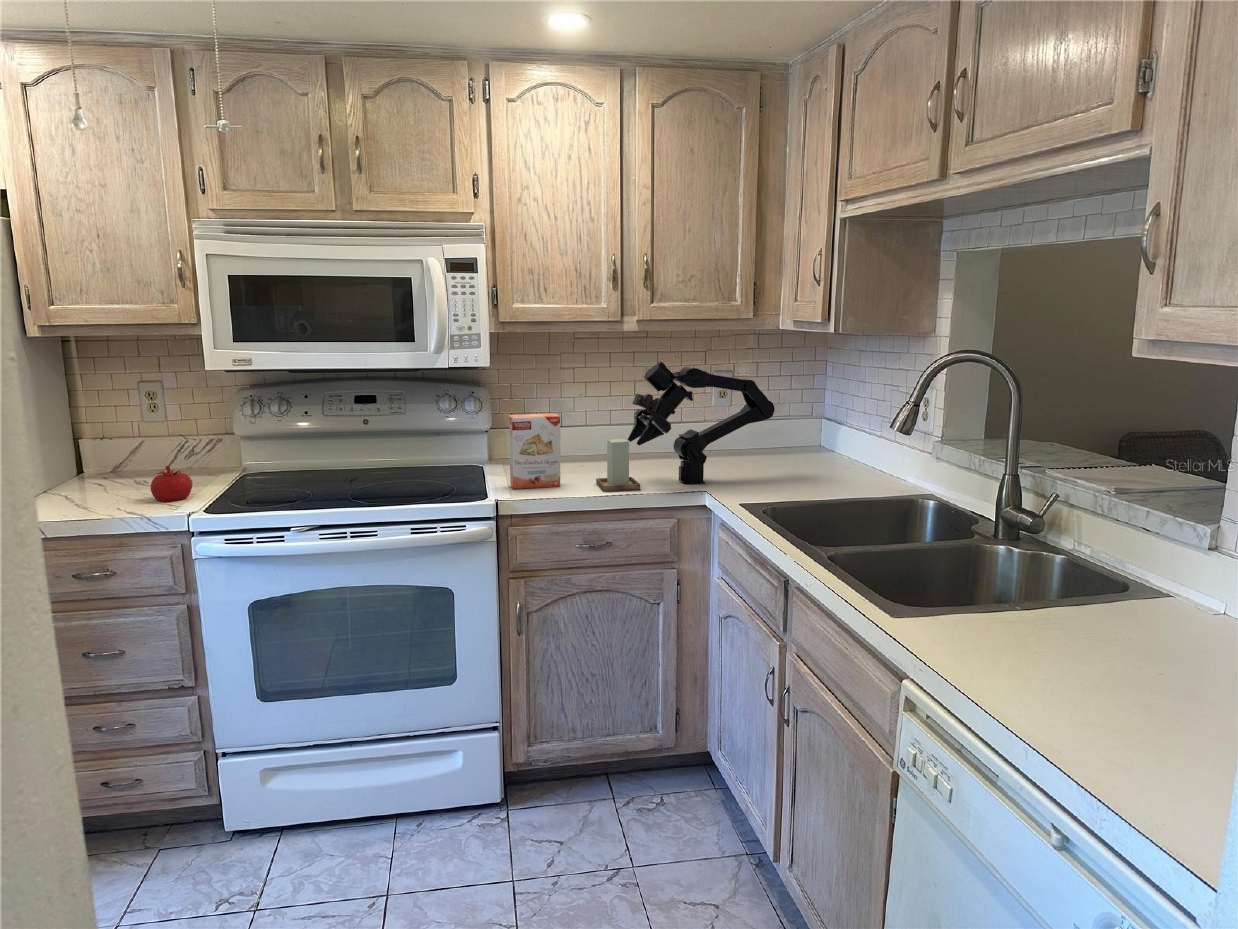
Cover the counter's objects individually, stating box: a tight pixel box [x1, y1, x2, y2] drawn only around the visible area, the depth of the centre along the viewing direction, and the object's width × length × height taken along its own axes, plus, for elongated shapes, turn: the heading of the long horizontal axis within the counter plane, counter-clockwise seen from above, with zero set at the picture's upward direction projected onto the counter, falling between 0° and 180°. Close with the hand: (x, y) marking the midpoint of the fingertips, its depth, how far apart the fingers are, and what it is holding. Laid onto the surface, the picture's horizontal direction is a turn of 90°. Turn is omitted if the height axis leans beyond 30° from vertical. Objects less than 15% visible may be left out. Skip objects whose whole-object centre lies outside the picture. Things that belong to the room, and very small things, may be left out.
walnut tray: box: [595, 476, 641, 493], centre depth 237 cm, size 11×11×2 cm
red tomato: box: [150, 465, 194, 503], centre depth 222 cm, size 10×10×9 cm
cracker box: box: [508, 413, 561, 490], centre depth 237 cm, size 14×6×21 cm, turn 105°
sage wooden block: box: [606, 438, 630, 485], centre depth 236 cm, size 5×5×13 cm
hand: (633, 442), depth 237 cm, fingers open, 9 cm apart
